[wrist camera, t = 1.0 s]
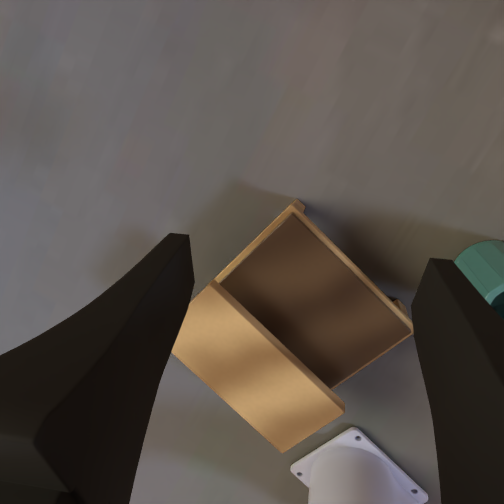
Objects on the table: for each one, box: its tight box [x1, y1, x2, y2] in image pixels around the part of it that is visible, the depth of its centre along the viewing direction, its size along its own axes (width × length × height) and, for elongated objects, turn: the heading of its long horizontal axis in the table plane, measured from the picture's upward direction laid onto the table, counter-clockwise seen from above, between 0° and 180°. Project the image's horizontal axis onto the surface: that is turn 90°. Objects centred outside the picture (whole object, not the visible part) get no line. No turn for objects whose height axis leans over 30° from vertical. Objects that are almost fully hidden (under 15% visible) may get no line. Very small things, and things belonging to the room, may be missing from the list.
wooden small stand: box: [171, 199, 414, 453], centre depth 29 cm, size 12×13×6 cm
